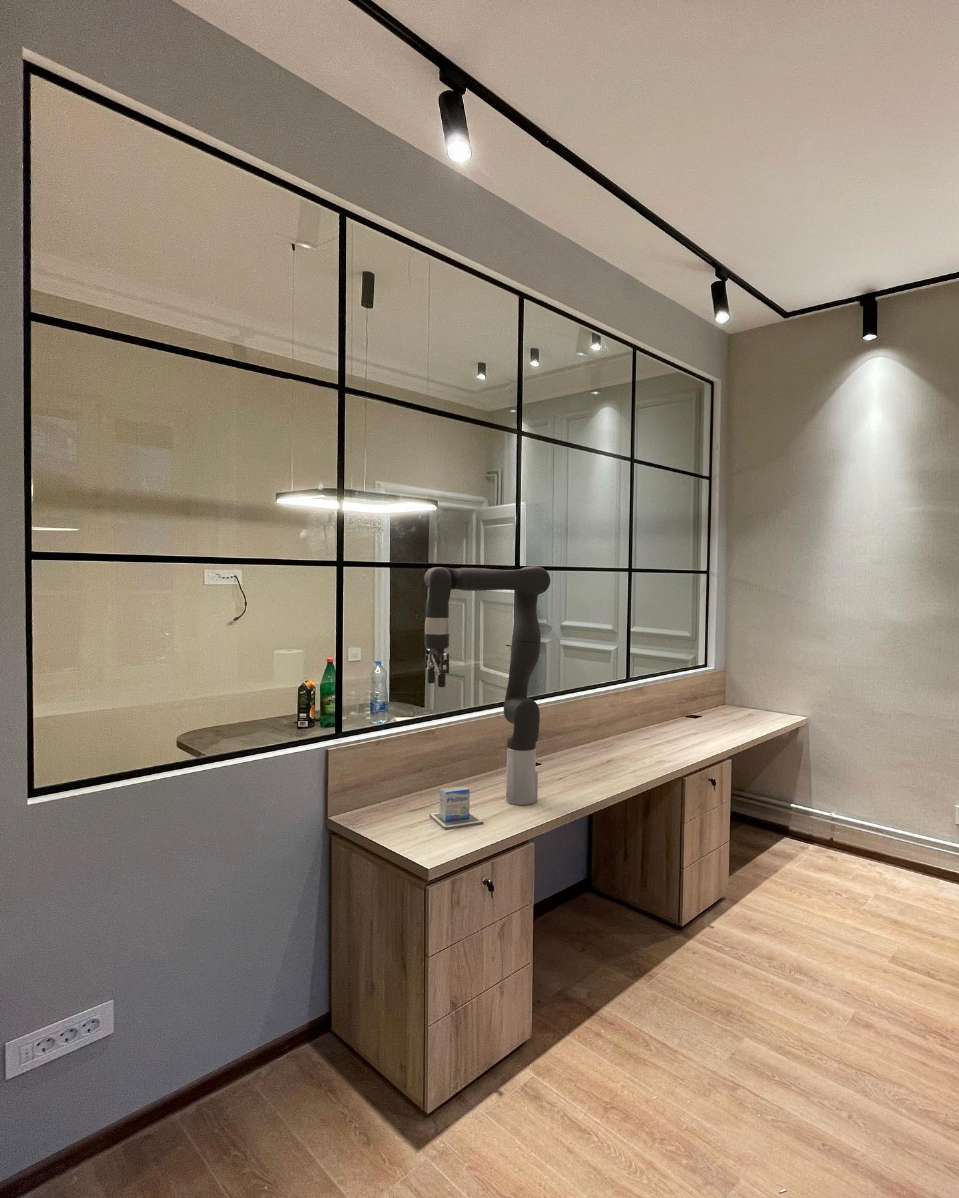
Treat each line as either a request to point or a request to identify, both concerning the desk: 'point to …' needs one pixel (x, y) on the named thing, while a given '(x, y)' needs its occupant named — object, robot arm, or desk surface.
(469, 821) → the mat
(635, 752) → the desk surface
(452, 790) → the medicine box
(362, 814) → the desk surface
